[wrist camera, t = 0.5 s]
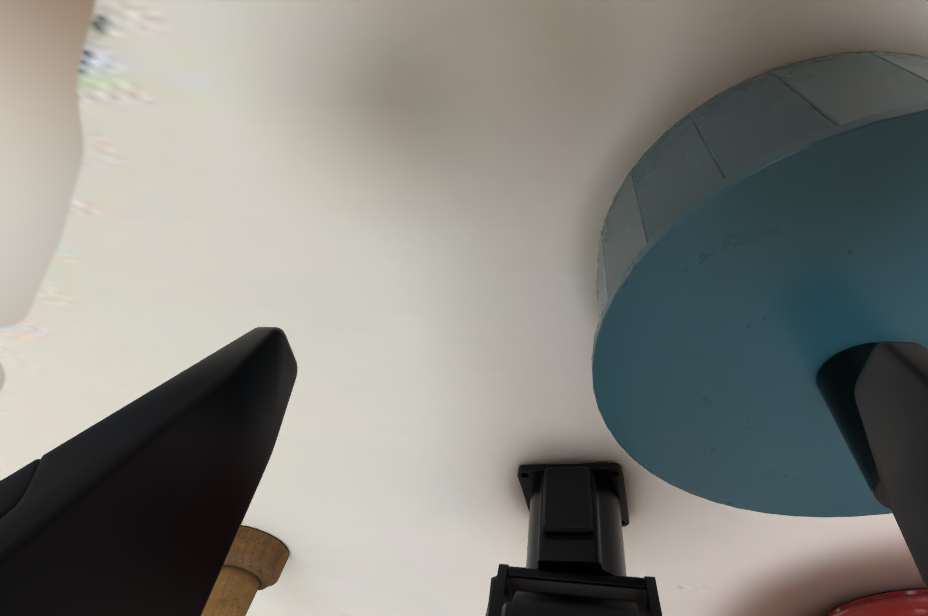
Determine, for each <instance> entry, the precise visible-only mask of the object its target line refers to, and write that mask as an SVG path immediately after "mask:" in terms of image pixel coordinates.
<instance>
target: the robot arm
mask: <svg viewBox="0 0 928 616" xmlns="http://www.w3.org/2000/svg"><path fill="white" fill-rule="evenodd" d="M296 376H297V362H296V359H295V357H294V355H293V352H292V350H291V347H290V345H289V342H288V340H287V337H286V335H285V333H284V331H283V330H282V329H280V328H277V327H258V328H255V329H253V330H251V331H250V332H248V333H246V334H245V335H243V336H241V337H240V338H238V339H236V340H235V341H233V342H231V343H230V344H228V345H226V346H225V347H223V348H221V349H220V350H218V351H216V352H215V353H213V354H211V355H210V356H208V357H206V358H205V359H203V360H201V361H200V362H198V363H196V364H195V365H193V366H191V367H190V368H188V369H186V370H185V371H183V372H181V373H180V374H178V375H176V376H175V377H173V378H171V379H170V380H168V381H166V382H165V383H163V384H161V385H160V386H158V387H156V388H155V389H153V390H151V391H150V392H148V393H146V394H145V395H143V396H141V397H140V398H138V399H136V400H135V401H133V402H131V403H130V404H128V405H126V406H125V407H123V408H121V409H120V410H118V411H116V412H115V413H113V414H111V415H110V416H108V417H106V418H105V419H103V420H101V421H100V422H98V423H96V424H95V425H93V426H91V427H90V428H88V429H86V430H85V431H83V432H81V433H80V434H78V435H76V436H75V437H73V438H71V439H70V440H68V441H66V442H65V443H63V444H61V445H60V446H58V447H56V448H55V449H53V450H51V451H50V452H48V453H46V454H45V455H43V457H42V458H41V459H37V460H35V461H33V462H31V463H30V464H28V465H26V466H25V467H23V468H21V469H20V470H18V471H16V472H15V473H13V474H11V475H10V476H8V477H6V478H5V479H3V480H1V481H0V616H201V615H202V613H203V610H204V608H205V606H206V603H207V601H208V599H209V597H210V594H211V592H212V590H213V587H214V585H215V583H216V581H217V578H218V576H219V574H220V571H221V569H222V567H223V565H224V562H225V560H226V558H227V555H228V553H229V551H230V549H231V546H232V544H233V542H234V539H235V537H236V535H237V532H238V530H239V528H240V526H241V523H242V521H243V519H244V516H245V514H246V512H247V510H248V507H249V505H250V503H251V500H252V498H253V496H254V494H255V491H256V489H257V487H258V484H259V482H260V480H261V478H262V475H263V473H264V471H265V468H266V466H267V464H268V461H269V459H270V456H271V454H272V451H273V448H274V446H275V443H276V440H277V437H278V433H279V430H280V427H281V424H282V421H283V418H284V414H285V411H286V408H287V405H288V402H289V399H290V395H291V392H292V389H293V386H294V383H295V379H296ZM854 394H855V400H856V404H857V407H858V410H859V413H860V417H861V420H862V423H863V426H864V429H865V433H866V436H867V439H868V442H869V445H870V448H871V452H872V455H873V458H874V461H875V464H876V468H877V471H878V474H879V477H880V480H881V483H882V486H883V489H884V492H885V495H886V498H887V500H888V503H889V505H890V507H891V510H892V512H893V514H894V517H895V519H896V521H897V523H898V526H899V528H900V530H901V532H902V535H903V537H904V539H905V541H906V543H907V546H908V548H909V550H910V552H911V555H912V557H913V559H914V561H915V563H916V566H917V568H918V570H919V572H920V575H921V577H922V579H923V581H924V584H925V586H926V588H927V590H928V349H927V348H925V347H923V346H921V345H919V344H917V343H913V342H890V341H885V342H881V343H878V344H877V345H876V346H874V348H873V349H872V351H871V353H870V355H869V357H868V359H867V361H866V363H865V365H864V367H863V369H862V371H861V373H860V375H859V377H858V379H857V381H856V384H855V390H854ZM518 478H519V481H520V484H521V487H522V490H523V493H524V497H525V500H526V503H527V506H528V509H529V512H530V515H529V531H528V547H527V564H526V568H522V567H510V566H509V565H506V564H499V569H498V574H497V576H495V577H493V578H491V586H490V595H489V603H488V608H487V612H486V616H662V612H661V607H660V602H659V596H658V591H657V586H656V580H655V577H647V576H645V577H644V578H638V577H626V568H625V557H624V546H623V534H622V527H623V526H627V525H628V524H629V518H628V510H627V502H626V494H625V487H624V479H623V471H622V467H621V466H620V465H619V464H616V463H599V464H555V465H522V466H520V467H519V468H518Z"/></svg>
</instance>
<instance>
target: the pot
mask: <svg viewBox="0 0 928 616" xmlns="http://www.w3.org/2000/svg"><path fill="white" fill-rule="evenodd" d="M924 102H928V58H926V57H922V56H918V55H911V54H901V53H892V52H855V53H843V54H837V55H830V56H824V57H817V58H812V59H808V60H805V61H801V62H797V63H794V64H790V65H786V66H783V67H779V68H777V69H774V70H771V71H769V72H766V73H764V74H761V75H759V76H756V77H753V78H751V79H748V80H746V81H744V82H742V83H740V84H738V85H736V86H734V87H732V88H730V89H729V90H727V91H725V92H723V93H721V94H719V95H717V96H715V97H714V98H712V99H711V100H709V101H708V102H706V103H705V104H703V105H701V106H700V107H698V108H697V109H695V110H694V111H692V112H691V113H689V114H688V115H687V116H685V117H684V118H683V119H682V120H681V121H679V122H678V123H677V124H676V125H674V126H673V127H672V128H671V129H670V130H668V131H667V132H666V133H665V134H664V135H663V136H662V137H661V138H660V139H659V140H658V141H657V142H656V143H655V144H654V145H653V146H652V147H651V148H650V149H649V150H648V151H647V152H646V153H645V154H644V155H643V157H642V158H641V159H640V160H639V162H638V163H637V164H636V166H635V167H634V168H633V169H632V171H631V172H630V173H629V175H628V176H627V177H626V179H625V181H624V183H623V184H622V186H621V188H620V189H619V191H618V193H617V194H616V196H615V198H614V200H613V202H612V205H611V207H610V209H609V212H608V214H607V216H606V219H605V222H604V226H603V228H602V231H601V237H600V243H599V252H598V272H597V296H598V309H599V320H600V316H601V313H602V311H603V309H604V307H605V305H606V302H607V300H608V298H609V296H610V294H611V292H612V290H613V288H614V286H615V285H616V283H617V282H618V280H619V279H620V277H621V276H622V274H623V273H624V272H625V270H626V269H627V267H628V266H629V264H630V263H631V261H632V260H633V259H634V257H635V256H636V255H637V254H638V253H639V252H640V251H641V250H642V248H643V247H644V246H645V245H646V244H647V243H648V242H649V241H650V239H651V238H652V237H653V236H654V235H655V234H656V233H657V232H658V231H659V230H660V229H661V228H662V227H663V226H665V225H666V224H667V223H668V222H669V221H670V220H671V219H672V218H674V217H675V216H676V215H677V214H678V213H679V212H680V211H681V210H683V209H684V208H685V207H686V206H687V205H688V204H690V203H691V202H693V201H694V200H695V199H697V198H698V197H700V196H701V195H702V194H704V193H705V192H707V191H708V190H710V189H711V188H712V187H714V186H715V185H717V184H718V183H719V182H721V181H722V180H724V179H725V178H727V177H729V176H731V175H732V174H734V173H736V172H738V171H739V170H741V169H743V168H745V167H746V166H748V165H750V164H752V163H753V162H755V161H757V160H759V159H760V158H762V157H764V156H766V155H768V154H770V153H772V152H774V151H777V150H779V149H781V148H783V147H786V146H788V145H790V144H792V143H794V142H797V141H799V140H801V139H803V138H806V137H808V136H810V135H812V134H815V133H818V132H820V131H823V130H826V129H829V128H832V127H835V126H838V125H841V124H844V123H847V122H850V121H853V120H856V119H859V118H862V117H865V116H868V115H872V114H877V113H881V112H885V111H889V110H894V109H898V108H902V107H906V106H911V105H915V104H919V103H924Z"/></svg>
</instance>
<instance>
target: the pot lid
mask: <svg viewBox="0 0 928 616" xmlns="http://www.w3.org/2000/svg"><path fill="white" fill-rule="evenodd" d="M885 341H890V342H913V343H917V344H919V345H921V346H923V347H925V348H927V349H928V102H924V103H919V104H915V105H911V106H906V107H902V108H898V109H894V110H889V111H885V112H881V113H877V114H872V115H868V116H865V117H862V118H859V119H856V120H853V121H850V122H847V123H844V124H841V125H838V126H835V127H832V128H829V129H826V130H823V131H820V132H818V133H815V134H812V135H810V136H808V137H806V138H803V139H801V140H799V141H797V142H794V143H792V144H790V145H788V146H786V147H783V148H781V149H779V150H777V151H774V152H772V153H770V154H768V155H766V156H764V157H762V158H760V159H759V160H757V161H755V162H753V163H752V164H750V165H748V166H746V167H745V168H743V169H741V170H739V171H738V172H736V173H734V174H732V175H731V176H729V177H727V178H725V179H724V180H722V181H721V182H719V183H718V184H717V185H715V186H714V187H712V188H711V189H710V190H708V191H707V192H705V193H704V194H702V195H701V196H700V197H698V198H697V199H695V200H694V201H693V202H691V203H690V204H688V205H687V206H686V207H685V208H684V209H683V210H681V211H680V212H679V213H678V214H677V215H676V216H675V217H674V218H672V219H671V220H670V221H669V222H668V223H667V224H666V225H665V226H663V227H662V228H661V229H660V230H659V231H658V232H657V233H656V234H655V235H654V236H653V237H652V238H651V239H650V241H649V242H648V243H647V244H646V245H645V246H644V247H643V248H642V250H641V251H640V252H639V253H638V254H637V255H636V256H635V257H634V259H633V260H632V261H631V263H630V264H629V266H628V267H627V269H626V270H625V272H624V273H623V274H622V276H621V277H620V279H619V280H618V282H617V283H616V285H615V286H614V288H613V290H612V292H611V294H610V296H609V298H608V300H607V302H606V305H605V307H604V309H603V311H602V313H601V316H600V320H599V323H598V326H597V330H596V333H595V336H594V344H593V352H592V376H593V389H594V393H595V397H596V401H597V405H598V409H599V411H600V413H601V415H602V417H603V419H604V422H605V424H606V426H607V428H608V429H609V431H610V432H611V433H612V435H613V436H614V438H615V439H616V440H617V442H618V443H619V445H620V446H621V447H622V448H623V449H624V450H625V451H626V452H627V453H628V454H629V455H630V456H631V457H632V458H633V459H634V460H635V461H636V462H638V463H639V464H640V465H642V466H643V467H644V468H645V469H647V470H648V471H649V472H651V473H652V474H654V475H656V476H657V477H659V478H661V479H662V480H664V481H666V482H667V483H669V484H671V485H673V486H675V487H677V488H680V489H682V490H684V491H686V492H688V493H690V494H693V495H696V496H699V497H702V498H704V499H707V500H710V501H713V502H716V503H720V504H724V505H728V506H732V507H736V508H740V509H746V510H751V511H757V512H763V513H770V514H779V515H789V516H806V517H851V516H866V515H878V514H889V513H893V512H892V510H891V507H890V505H889V503H888V500H887V498H886V495H885V492H884V489H883V486H882V483H881V480H880V477H879V474H878V471H877V468H876V464H875V461H874V458H873V455H872V452H871V448H870V445H869V442H868V439H867V436H866V433H865V429H864V426H863V423H862V420H861V417H860V413H859V410H858V407H857V404H856V400H855V394H854V390H855V384H856V381H857V379H858V377H859V375H860V373H861V371H862V369H863V367H864V365H865V363H866V361H867V359H868V357H869V355H870V353H871V351H872V349H873V348H874V346H876V345H877V344H878V343H881V342H885Z"/></svg>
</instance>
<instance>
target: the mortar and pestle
mask: <svg viewBox="0 0 928 616" xmlns="http://www.w3.org/2000/svg"><path fill="white" fill-rule="evenodd" d="M288 556H289V554H288V551H287V549H286V547H285V546H284V545H283V544H282V543H281V542H280V541H279V540H277V539H276V538H274V537H273V536H271V535H269V534H266V533H264V532H262V531H259V530H256V529H253V528H249V527H243V526H240V528H239V530H238V532H237V535H236V537H235V539H234V542H233V544H232V546H231V549H230V551H229V553H228V555H227V558H226V560H225V562H224V565H223V567H222V569H221V571H220V574H219V576H218V578H217V581H216V583H215V585H214V587H213V590H212V592H211V594H210V597H209V599H208V601H207V603H206V606H205V608H204V610H203V613H202V615H201V616H245V615H246V613H247V611H248V609H249V607H250V605H251V602H252V600H253V598H254V596H255V594H256V592H257V590H262V589H265V588H266V587H268V586H271V585H274V584H275V583H276V582H277V581H278V579H279V577H280V575H281V573H282V570H283V568H284V566H285V564H286V562H287V559H288Z"/></svg>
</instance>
